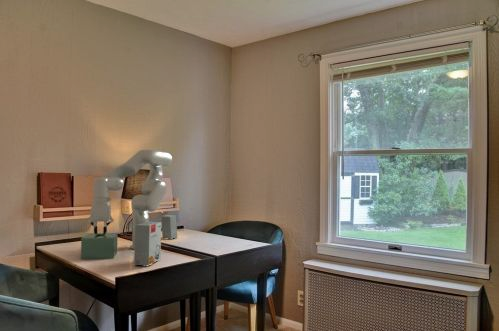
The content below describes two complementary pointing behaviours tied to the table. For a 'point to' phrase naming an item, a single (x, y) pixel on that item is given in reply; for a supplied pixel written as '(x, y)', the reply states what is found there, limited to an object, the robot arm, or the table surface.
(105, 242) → the coin box
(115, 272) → the table surface
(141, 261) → the hard drive box
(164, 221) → the skincare box
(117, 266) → the table surface
